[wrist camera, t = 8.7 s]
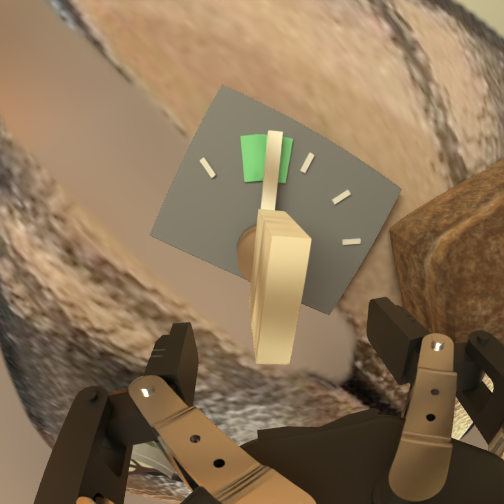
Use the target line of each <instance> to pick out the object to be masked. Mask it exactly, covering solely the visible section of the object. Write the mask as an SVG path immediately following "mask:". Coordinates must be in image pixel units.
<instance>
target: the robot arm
mask: <svg viewBox="0 0 504 504" xmlns="http://www.w3.org/2000/svg"><path fill="white" fill-rule="evenodd" d="M367 337H368V340H369V342H370V343H371V345H372V346H373V348H374V349H375V351H376V352H377V354H378V355H379V356H380V358H381V359H382V361H383V362H384V364H385V365H386V367H387V368H388V370H389V371H390V373H391V374H392V376H393V377H394V378H395V380H396V381H397V383H398V384H399V385H402V384H406V383H410V384H411V385H410V388H409V392H408V396H407V399H406V403H405V407H404V410H403V414H402V417H397V416H390V415H378V414H377V412H376V410H375V408H372V409H368V410H365V411H361V412H357V413H353V414H349V415H346V416H344V417H342V418H340V419H337V420H335V421H333V422H331V423H328V424H326V425H324V426H321V427H292V426H287V427H280V428H272V429H264V430H257V434H258V439H255V440H252V441H249V442H247V443H245V444H243V445H241V446H238V445H237V444H236V443H235V442H233V441H232V440H231V439H230V438H229V437H228V436H227V435H226V434H224V433H223V432H222V431H221V430H220V429H219V428H218V427H217V426H216V425H215V424H214V423H213V422H211V421H210V420H209V419H208V418H207V417H206V416H205V415H204V414H203V413H202V412H201V411H200V410H199V409H198V408H197V407H196V406H194V405H193V401H194V393H195V386H196V378H197V371H198V352H197V348H196V343H195V339H194V334H193V330H192V326H191V323H190V322H186V323H173V325H172V328H171V331H170V334H169V335H162V336H161V337H160V338H159V339H158V340H157V341H156V343H155V345H154V348H153V351H152V353H151V357H150V359H149V362H148V364H147V367H146V370H145V373H144V375H143V377H140V378H138V379H136V380H135V381H133V382H132V383H131V385H130V386H129V391H127V392H123V393H118V394H113V395H108V392H107V391H106V390H105V389H104V388H103V387H100V386H90V387H87V388H85V389H83V390H81V391H80V392H79V393H78V394H77V395H76V397H75V399H74V401H73V403H72V406H71V408H70V410H69V412H68V415H67V417H66V419H65V421H64V424H63V426H62V428H61V431H60V433H59V436H58V438H57V440H56V443H55V445H54V448H53V450H52V453H51V456H50V458H49V461H48V463H47V466H46V469H45V472H44V475H43V477H42V480H41V483H40V486H39V489H38V492H37V495H36V498H35V501H34V504H124V497H125V491H126V484H127V478H128V472H129V466H130V461H131V455H132V450H133V445H137V444H142V443H147V442H152V441H153V442H154V443H155V445H156V446H157V447H158V449H159V450H160V451H161V453H162V454H163V455H164V457H165V458H166V459H167V461H168V462H169V463H170V464H171V466H172V467H173V468H174V469H175V471H176V472H177V473H178V475H179V476H180V478H181V479H182V480H183V482H184V483H185V484H186V486H187V487H188V488H189V489H190V490H191V492H192V493H191V494H190V495H189V496H188V497H187V498H186V499H185V500H184V501H183V502H182V503H180V504H504V345H503V344H502V343H501V342H500V341H499V340H498V339H497V338H495V337H494V336H493V335H492V334H491V333H489V332H486V331H481V330H477V331H473V332H471V333H470V334H469V337H468V341H467V342H464V343H453V341H452V340H451V339H450V338H449V337H448V336H446V335H443V334H438V333H433V334H431V333H430V332H429V331H428V330H427V329H426V328H425V327H424V326H423V325H422V324H421V323H420V322H419V321H417V319H416V318H415V317H413V316H412V315H411V314H410V313H409V312H408V311H407V310H406V309H404V308H402V307H400V306H398V305H396V306H395V305H394V304H393V303H392V302H391V301H390V300H389V299H388V298H387V297H382V298H377V299H372V300H370V302H369V310H368V320H367ZM485 373H486V374H487V375H488V377H489V378H490V379H491V380H492V382H493V385H494V389H493V393H492V392H491V391H490V390H489V388H488V387H487V386H486V385H485V384H484V382H483V381H482V379H483V377H484V375H485ZM456 397H457V399H458V400H459V402H460V403H461V405H462V406H463V408H464V409H465V410H466V412H467V413H468V415H469V416H470V418H471V419H472V421H473V422H474V424H475V425H476V427H477V428H478V430H479V431H480V433H481V434H482V436H483V437H484V439H485V440H486V442H487V444H488V445H489V447H488V451H487V450H484V449H481V448H478V447H475V446H472V445H469V444H467V443H464V442H461V441H459V440H456V439H454V438H451V434H452V427H453V419H454V410H455V398H456Z"/></svg>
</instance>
